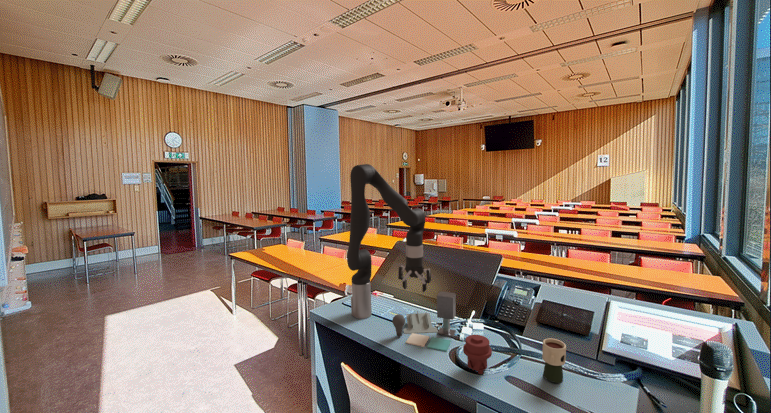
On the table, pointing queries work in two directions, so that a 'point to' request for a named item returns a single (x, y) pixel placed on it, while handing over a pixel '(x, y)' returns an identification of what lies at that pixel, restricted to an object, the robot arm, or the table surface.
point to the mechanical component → (477, 352)
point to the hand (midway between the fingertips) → (414, 290)
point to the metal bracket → (419, 324)
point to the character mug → (554, 359)
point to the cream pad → (417, 339)
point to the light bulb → (398, 324)
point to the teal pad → (439, 344)
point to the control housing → (446, 312)
